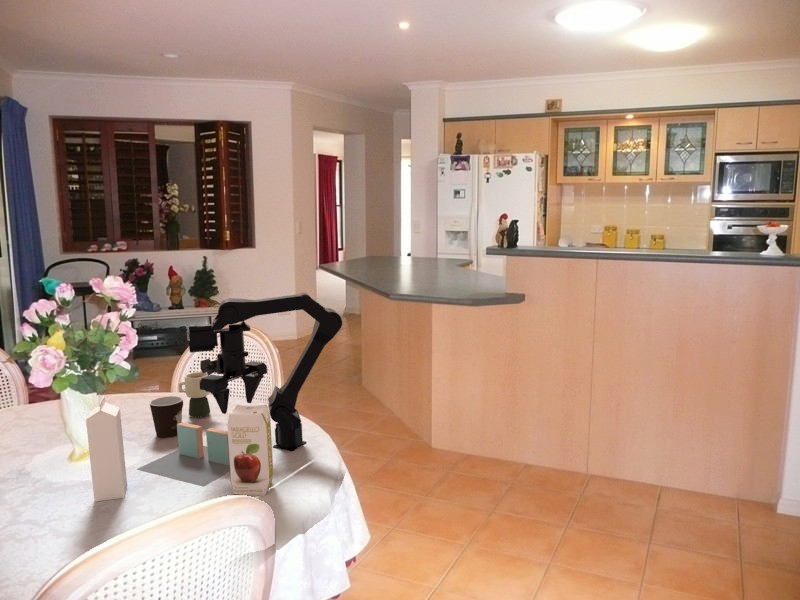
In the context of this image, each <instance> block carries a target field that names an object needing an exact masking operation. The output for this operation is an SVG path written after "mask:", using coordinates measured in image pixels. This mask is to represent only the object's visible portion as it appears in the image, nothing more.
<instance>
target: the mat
mask: <svg viewBox="0 0 800 600" xmlns="http://www.w3.org/2000/svg"><path fill="white" fill-rule="evenodd" d="M203 450H204V457H202V458H200V459H199V458H194V457H190V456H185V455H181V454H179V448H178V449H177V450H174V451H173V452H170V453H168V454H166V455H164V456H162V457H159V458H157V459H155V460H153V461H151V462H149V463H146V464H144V465H142V466H140V467H138V468H136V471H142V472H144V473H149V474H153V475H157V476H161V477H165V478H168V479H172V480H176V481H177V480H178V481H181V482H184V483H188V484H192V485H197V486H201V487H206V486H207V485H210V484H211V483H213V482H214V481H216V480H218V479H220V478H222V477H223V476H225V475H227V474H229V473H230V466H229V465H225V464H221V463H216V462H212V461H208V450H207V445H203Z"/></svg>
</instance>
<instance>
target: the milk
mask: <svg viewBox="0 0 800 600" xmlns="http://www.w3.org/2000/svg"><path fill="white" fill-rule="evenodd" d="M121 416H122V415H121V408H120V407H118V406H117V405H114V404H111V403H109V402H106V397H105V395H103V397H102V399H101V400H100V402H99V405H98V406H97V407H95V408H93V409H92V410H90V412H89V413H88V415H87V417H86V418H85V419H86V420H85V422H86V424H85V425H86V434H87V442H88V443H87V444H88V452H89V462H90V472H91V481H92V492H93V501H94V503H96V502H103V501H110V500H116V499H117V500H119V499H123V498H125V494H126V491H127V487H128V480H127V471H126V470H127V469H126V461H125V459H126V458H125V448H124V439H123V438H124V437H123V427H122V426H123V425H122V418H121Z"/></svg>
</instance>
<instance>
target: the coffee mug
mask: <svg viewBox="0 0 800 600" xmlns="http://www.w3.org/2000/svg"><path fill="white" fill-rule="evenodd" d="M183 407H184V400H183V397H181V396H177V395H171V396H170V395H169V396H161V397H157V398H154V399H152V400H151V401H149V408H150V411H151V417H152V422H153V425H154V430H155V435H156V438H159V439H171V438H174V437H178V434H177V424H179V423H181V422H182V417H183ZM182 423H183V422H182Z"/></svg>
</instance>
